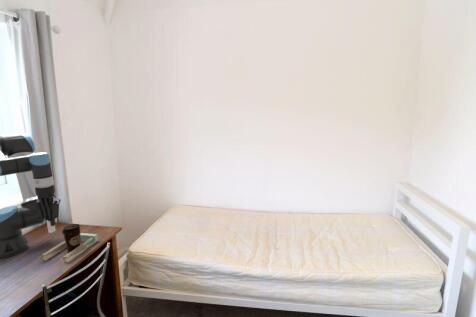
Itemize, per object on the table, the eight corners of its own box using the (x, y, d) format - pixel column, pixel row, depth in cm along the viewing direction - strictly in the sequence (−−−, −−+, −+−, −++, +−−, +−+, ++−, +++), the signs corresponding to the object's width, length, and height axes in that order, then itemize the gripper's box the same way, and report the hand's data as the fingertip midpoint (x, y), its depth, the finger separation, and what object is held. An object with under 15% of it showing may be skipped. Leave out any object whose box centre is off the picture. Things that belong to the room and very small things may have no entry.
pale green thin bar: (42, 260, 136) (41, 255, 135) (72, 240, 155) (72, 236, 155) (46, 260, 136) (45, 255, 135) (75, 241, 155) (75, 236, 154)
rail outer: (64, 262, 134) (63, 256, 133) (92, 242, 153) (91, 237, 153) (68, 262, 134) (67, 257, 133) (95, 242, 153) (94, 237, 152)
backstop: (72, 240, 155) (71, 234, 155) (75, 239, 157) (74, 232, 157) (95, 242, 153) (94, 235, 152) (97, 240, 155) (97, 234, 154)
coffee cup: (87, 245, 150) (84, 223, 147) (76, 253, 142) (72, 230, 139) (73, 244, 151) (69, 222, 149) (61, 252, 143) (57, 229, 141)
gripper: (25, 187, 126) (33, 234, 131) (49, 188, 123) (57, 236, 128) (39, 182, 133) (47, 227, 138) (62, 183, 131) (69, 229, 136)
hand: (52, 231), depth 133 cm, fingers closed
